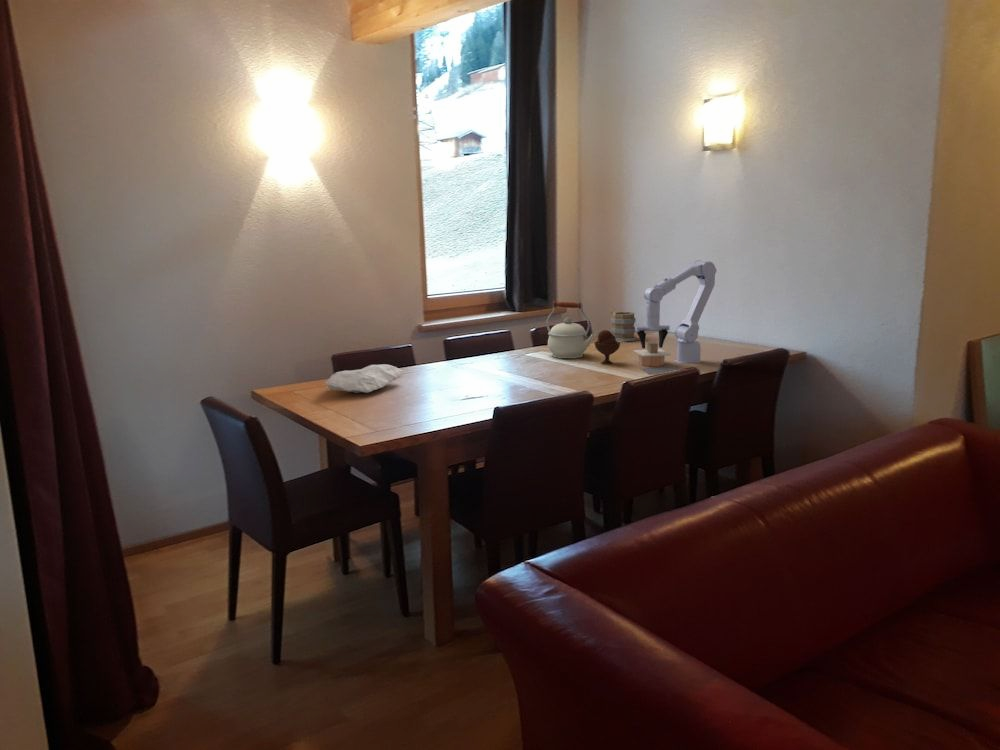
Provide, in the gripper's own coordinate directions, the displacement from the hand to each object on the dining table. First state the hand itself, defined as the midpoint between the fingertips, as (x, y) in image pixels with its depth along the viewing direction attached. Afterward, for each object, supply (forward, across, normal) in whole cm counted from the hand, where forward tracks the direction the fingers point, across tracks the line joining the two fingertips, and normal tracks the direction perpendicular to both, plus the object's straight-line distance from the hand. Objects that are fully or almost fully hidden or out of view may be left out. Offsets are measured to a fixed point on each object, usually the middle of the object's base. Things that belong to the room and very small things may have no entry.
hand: (652, 347), depth 322 cm
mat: (+7, 0, -14) cm, 16 cm away
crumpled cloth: (+8, -122, -18) cm, 124 cm away
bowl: (+7, 0, 0) cm, 7 cm away
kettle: (+8, -29, +27) cm, 40 cm away
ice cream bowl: (+8, -18, +6) cm, 20 cm away
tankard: (+8, +6, +66) cm, 66 cm away
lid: (+2, 0, 0) cm, 2 cm away
